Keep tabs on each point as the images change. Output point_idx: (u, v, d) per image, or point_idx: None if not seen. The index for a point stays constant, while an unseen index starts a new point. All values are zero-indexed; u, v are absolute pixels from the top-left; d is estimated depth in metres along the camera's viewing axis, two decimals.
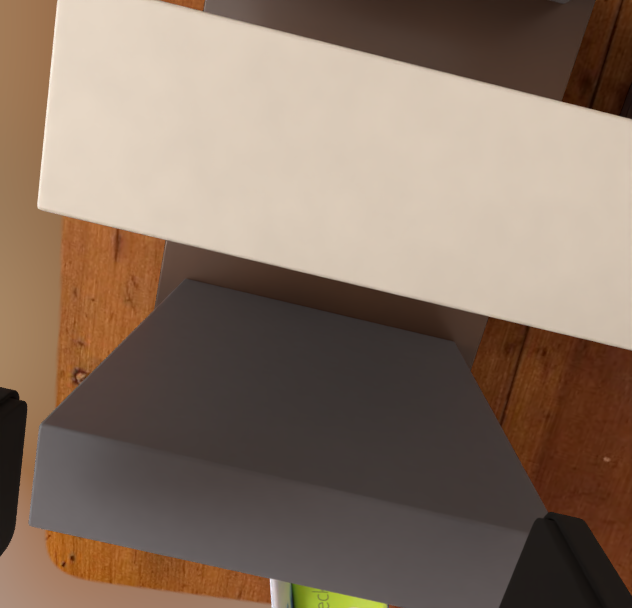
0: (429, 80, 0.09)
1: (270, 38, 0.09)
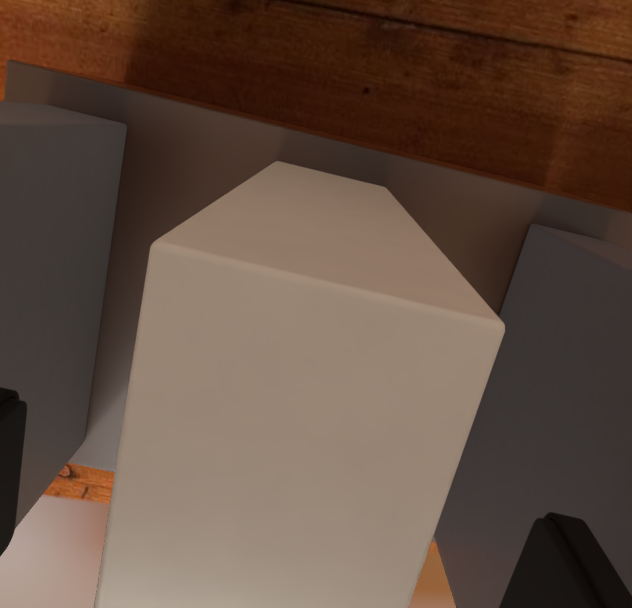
0: None
1: None
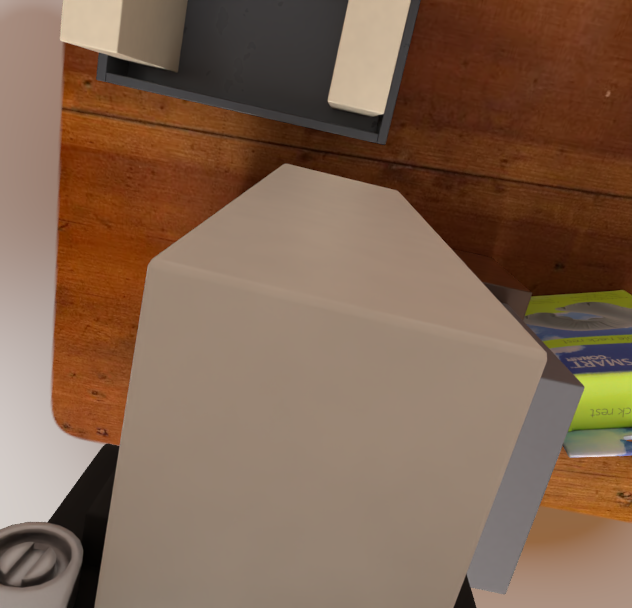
0: None
1: None
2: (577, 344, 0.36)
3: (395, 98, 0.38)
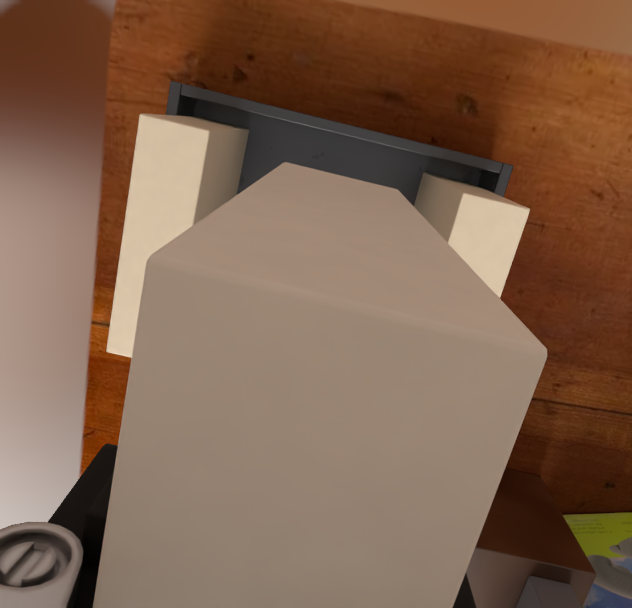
0: None
1: None
2: None
3: None
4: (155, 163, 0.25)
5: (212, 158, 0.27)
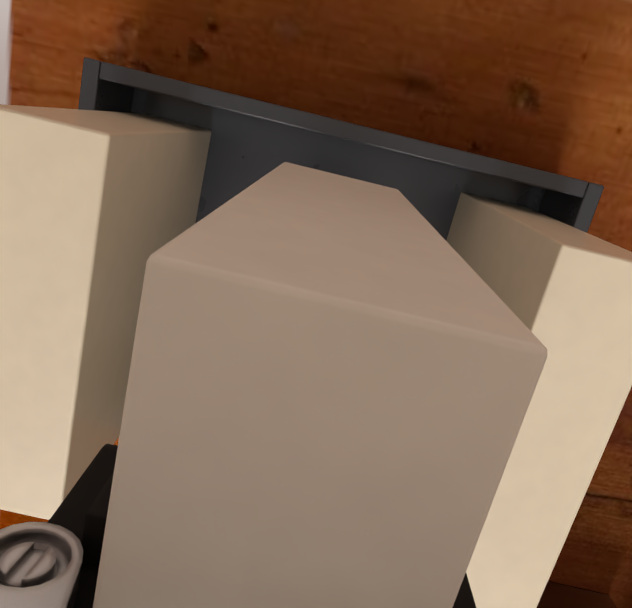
0: None
1: None
2: None
3: None
4: (17, 193, 0.14)
5: (127, 181, 0.16)
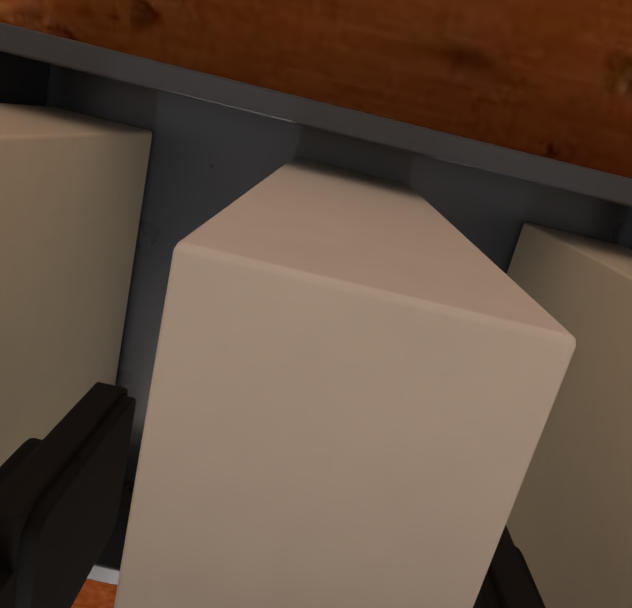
0: None
1: None
2: None
3: None
4: None
5: None
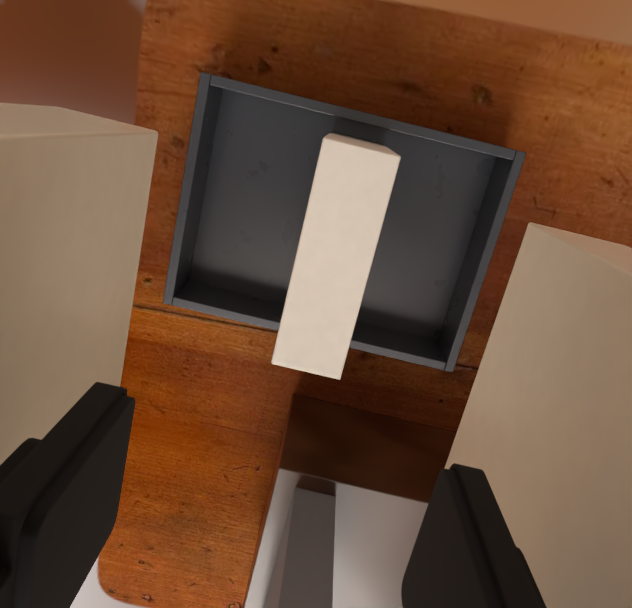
0: (299, 255, 0.27)
1: (287, 304, 0.28)
2: None
3: (465, 331, 0.38)
4: None
5: None
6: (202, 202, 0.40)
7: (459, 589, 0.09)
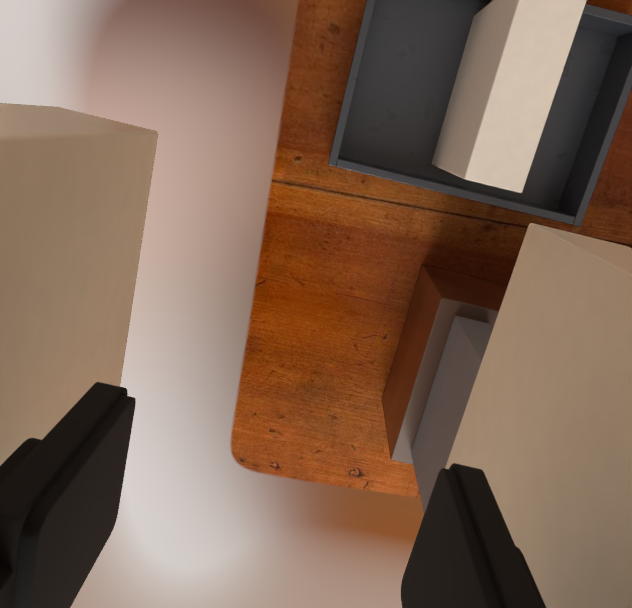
0: (497, 79, 0.33)
1: (483, 123, 0.34)
2: None
3: (593, 187, 0.43)
4: None
5: None
6: (356, 81, 0.45)
7: (458, 589, 0.09)
